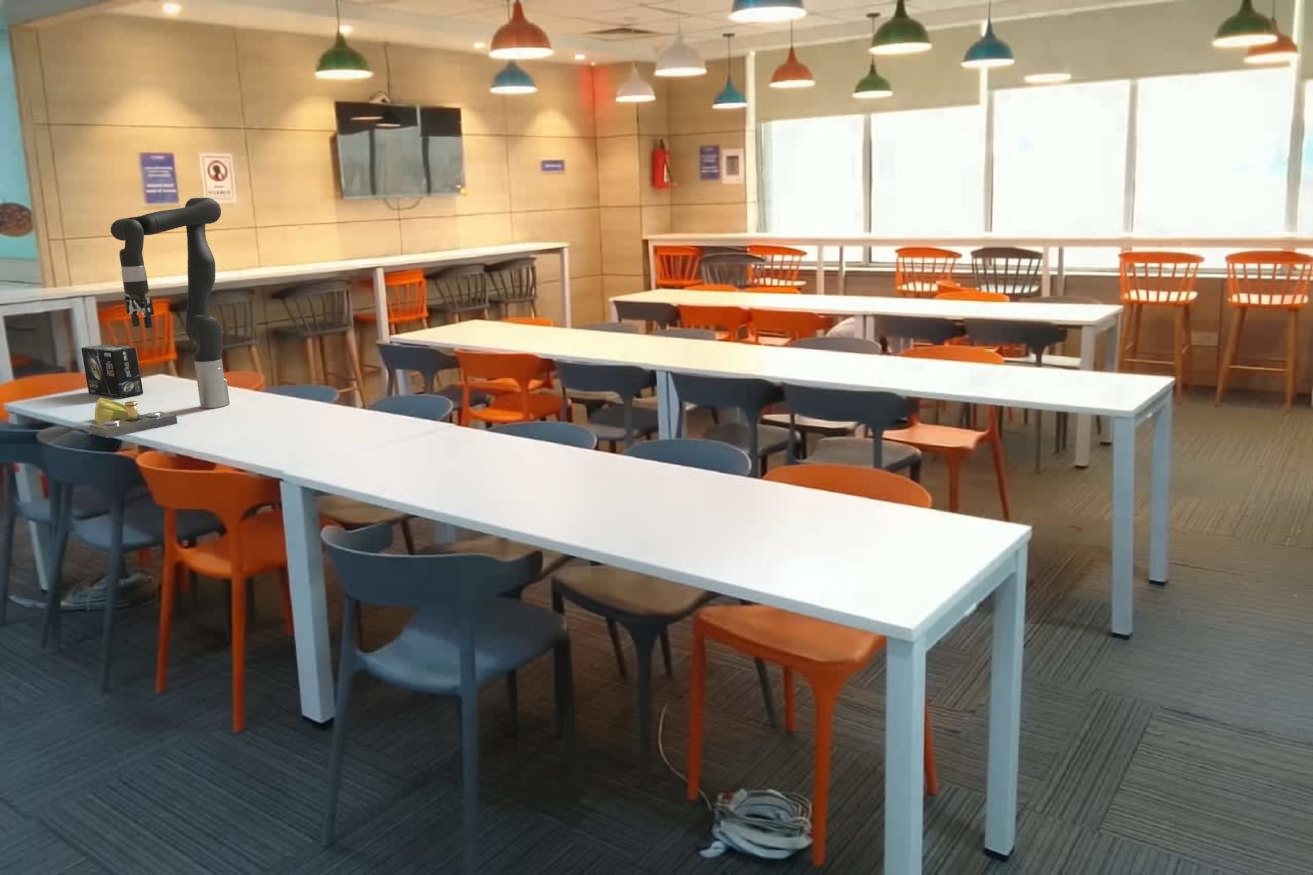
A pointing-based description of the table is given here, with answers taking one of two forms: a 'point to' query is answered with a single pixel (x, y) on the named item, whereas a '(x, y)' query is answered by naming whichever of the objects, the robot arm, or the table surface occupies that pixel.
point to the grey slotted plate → (133, 424)
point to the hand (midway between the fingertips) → (142, 327)
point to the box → (112, 370)
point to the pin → (132, 410)
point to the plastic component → (109, 410)
